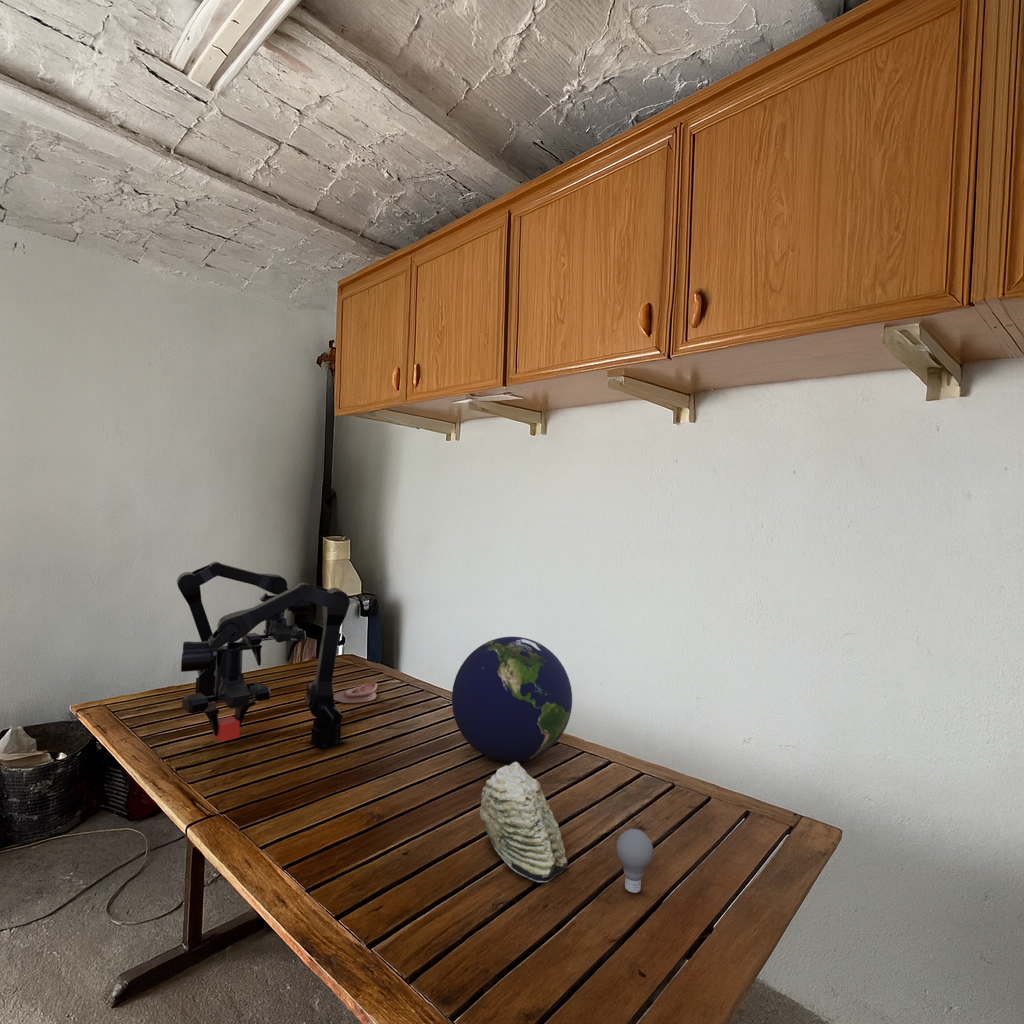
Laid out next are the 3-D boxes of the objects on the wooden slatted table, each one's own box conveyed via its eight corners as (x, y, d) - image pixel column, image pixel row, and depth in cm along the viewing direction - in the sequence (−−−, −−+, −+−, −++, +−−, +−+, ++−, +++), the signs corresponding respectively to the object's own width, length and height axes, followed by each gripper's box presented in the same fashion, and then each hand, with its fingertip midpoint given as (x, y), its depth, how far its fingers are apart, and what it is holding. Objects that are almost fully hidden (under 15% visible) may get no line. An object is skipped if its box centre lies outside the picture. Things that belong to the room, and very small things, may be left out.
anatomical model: (326, 688, 195) (343, 678, 206) (325, 700, 195) (343, 690, 206) (366, 692, 192) (381, 682, 203) (365, 705, 192) (381, 694, 203)
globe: (497, 727, 179) (502, 621, 178) (591, 755, 161) (596, 638, 161) (424, 759, 155) (429, 637, 154) (524, 797, 137) (530, 659, 137)
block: (220, 742, 149) (221, 725, 149) (212, 736, 152) (213, 720, 152) (239, 737, 152) (239, 721, 152) (231, 732, 155) (231, 716, 155)
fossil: (501, 827, 124) (504, 751, 124) (575, 868, 111) (578, 784, 111) (467, 843, 118) (470, 763, 118) (541, 889, 105) (545, 799, 105)
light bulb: (610, 879, 108) (613, 822, 108) (644, 879, 109) (647, 822, 109) (619, 902, 102) (622, 840, 102) (655, 901, 103) (658, 840, 103)
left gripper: (256, 621, 190) (254, 673, 190) (314, 615, 203) (312, 664, 203) (241, 615, 198) (240, 665, 198) (298, 610, 211) (297, 657, 211)
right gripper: (198, 682, 139) (195, 753, 139) (281, 670, 152) (278, 734, 152) (182, 671, 147) (180, 737, 148) (262, 660, 160) (260, 721, 160)
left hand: (273, 663), depth 202 cm, fingers open, 9 cm apart
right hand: (226, 733), depth 152 cm, fingers closed on block, 4 cm apart
